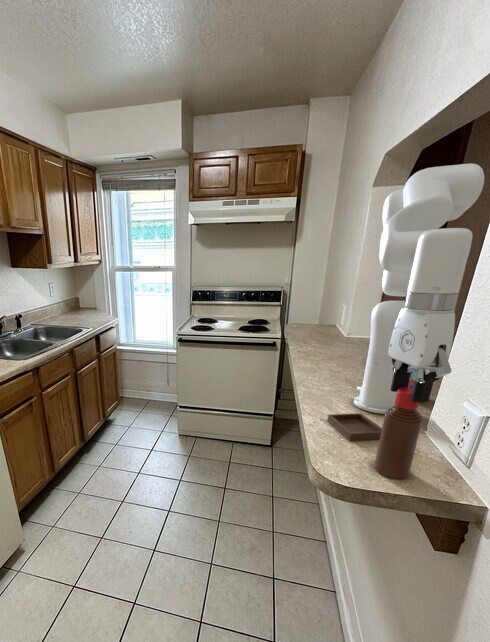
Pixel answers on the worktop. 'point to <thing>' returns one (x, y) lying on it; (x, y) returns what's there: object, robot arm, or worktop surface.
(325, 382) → the worktop surface
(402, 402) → the cap
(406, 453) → the sauce bottle
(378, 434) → the tray
